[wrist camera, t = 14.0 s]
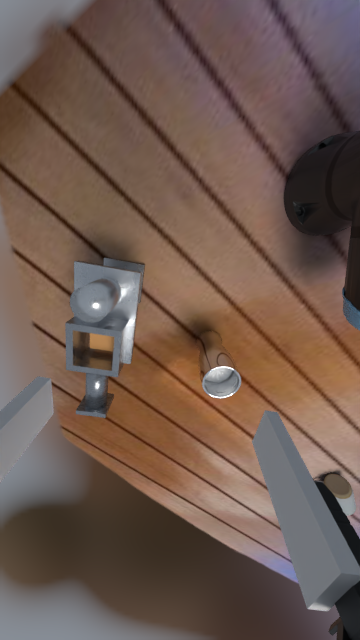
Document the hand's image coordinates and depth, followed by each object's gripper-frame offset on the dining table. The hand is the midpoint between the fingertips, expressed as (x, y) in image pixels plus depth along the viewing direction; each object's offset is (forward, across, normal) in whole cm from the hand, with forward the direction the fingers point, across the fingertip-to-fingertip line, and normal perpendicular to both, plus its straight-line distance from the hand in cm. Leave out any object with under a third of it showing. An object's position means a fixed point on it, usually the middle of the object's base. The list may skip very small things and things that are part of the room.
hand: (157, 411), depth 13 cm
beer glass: (+34, +9, -11) cm, 37 cm away
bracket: (+22, -11, -12) cm, 27 cm away
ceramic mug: (+35, +58, -55) cm, 87 cm away
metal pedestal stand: (+33, -12, -4) cm, 35 cm away
